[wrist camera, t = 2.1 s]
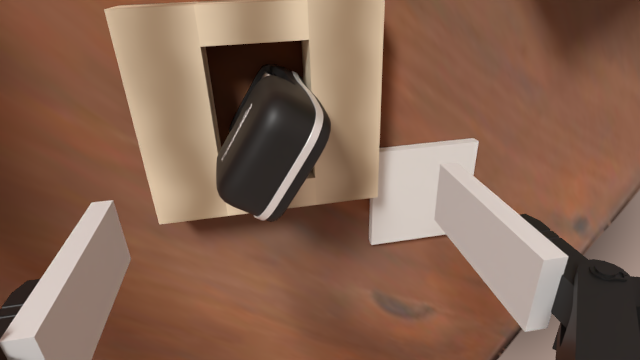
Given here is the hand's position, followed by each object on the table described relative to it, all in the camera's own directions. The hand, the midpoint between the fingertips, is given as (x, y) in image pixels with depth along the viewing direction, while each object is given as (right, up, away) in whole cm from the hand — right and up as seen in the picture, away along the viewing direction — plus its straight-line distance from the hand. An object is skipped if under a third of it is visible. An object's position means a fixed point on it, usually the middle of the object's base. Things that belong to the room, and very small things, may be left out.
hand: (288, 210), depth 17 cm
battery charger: (-3, +7, +13) cm, 15 cm away
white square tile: (+10, 0, +19) cm, 22 cm away
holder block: (-3, +7, +13) cm, 15 cm away
